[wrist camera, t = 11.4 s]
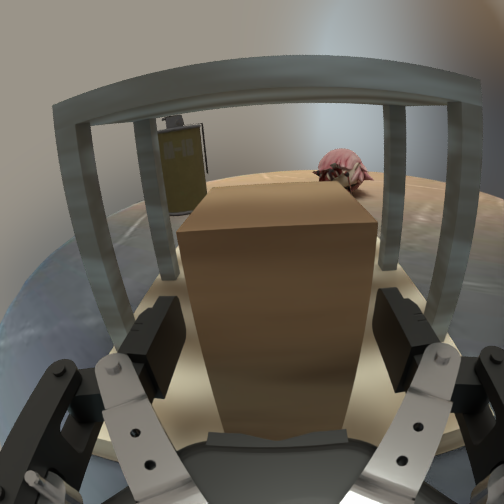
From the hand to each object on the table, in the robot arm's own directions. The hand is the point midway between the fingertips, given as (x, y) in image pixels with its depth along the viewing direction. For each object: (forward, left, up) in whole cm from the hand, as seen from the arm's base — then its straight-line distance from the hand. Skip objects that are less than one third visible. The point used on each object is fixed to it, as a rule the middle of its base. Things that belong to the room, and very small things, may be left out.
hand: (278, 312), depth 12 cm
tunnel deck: (-8, -5, -9) cm, 13 cm away
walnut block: (0, 0, -6) cm, 6 cm away
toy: (-54, -14, -10) cm, 57 cm away
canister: (-34, -42, -10) cm, 55 cm away
